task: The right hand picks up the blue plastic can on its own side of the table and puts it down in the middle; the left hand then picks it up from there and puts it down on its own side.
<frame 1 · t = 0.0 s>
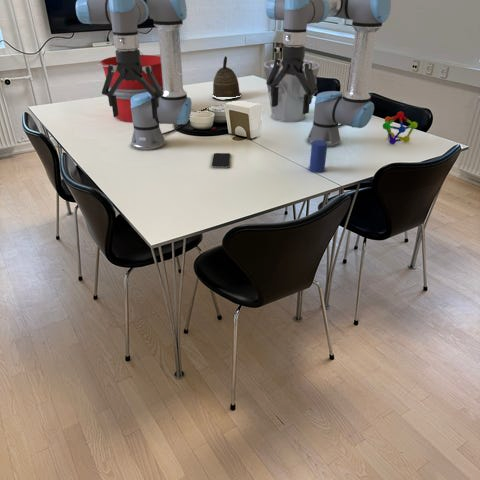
left hand: (135, 116, 150), 28 cm above the table, tool pointing down, fingers open, 13 cm apart
right hand: (289, 109, 158), 28 cm above the table, tool pointing down, fingers open, 13 cm apart
bucket 2: (139, 115, 247), on the table
bucket: (288, 117, 246), on the table
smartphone: (221, 161, 190), on the table
bell: (226, 97, 281), on the table
can: (316, 169, 183), on the table
educational toy: (395, 143, 211), on the table
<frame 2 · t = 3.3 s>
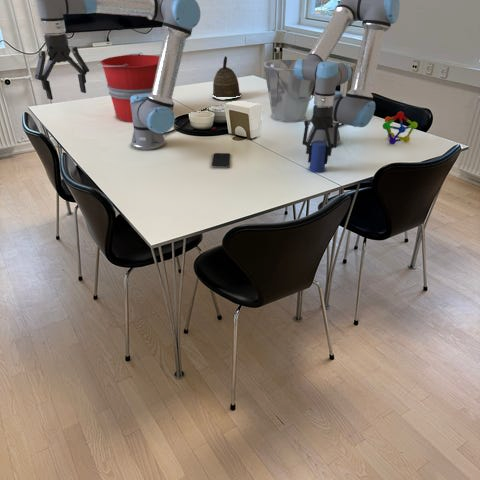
left hand: (67, 95, 166), 30 cm above the table, tool pointing down, fingers open, 13 cm apart
right hand: (317, 162, 181), 3 cm above the table, tool pointing down, fingers closed on can, 6 cm apart
can: (316, 169, 183), on the table, touching right hand
everything else where it was.
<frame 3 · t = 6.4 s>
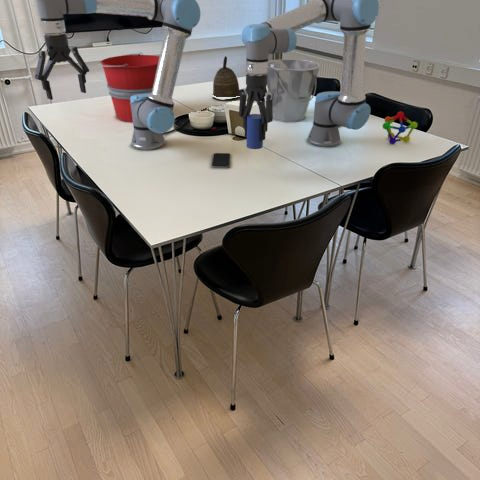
left hand: (67, 95, 166), 30 cm above the table, tool pointing down, fingers open, 13 cm apart
right hand: (254, 138, 166), 17 cm above the table, tool pointing down, fingers closed on can, 6 cm apart
can: (254, 146, 168), point 13 cm above the table, touching right hand
everything else where it was.
when the right hand's fingers open (4 cm above the table, at t = 9.6 s): can stays where it is, on the table.
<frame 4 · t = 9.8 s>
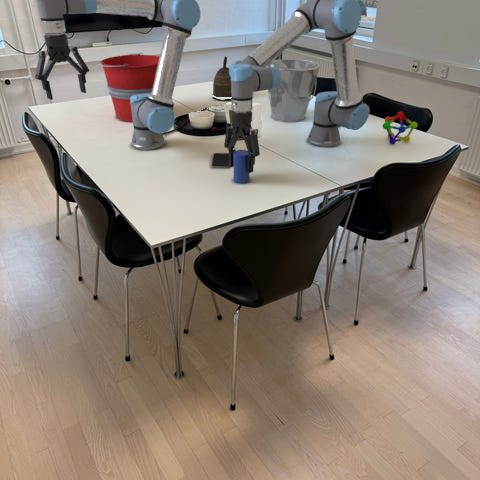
left hand: (67, 95, 166), 30 cm above the table, tool pointing down, fingers open, 13 cm apart
right hand: (241, 169, 171), 5 cm above the table, tool pointing down, fingers open, 8 cm apart
can: (241, 180, 174), on the table
everything else where it was.
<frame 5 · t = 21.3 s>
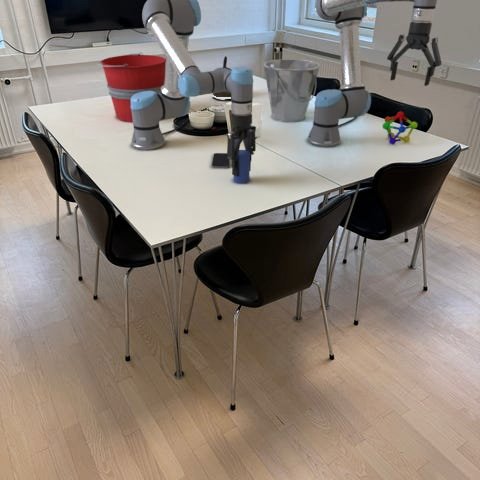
left hand: (241, 172, 172), 3 cm above the table, tool pointing down, fingers closed on can, 6 cm apart
right hand: (409, 82, 171), 33 cm above the table, tool pointing down, fingers open, 13 cm apart
can: (241, 180, 174), on the table, touching left hand
everything else where it was.
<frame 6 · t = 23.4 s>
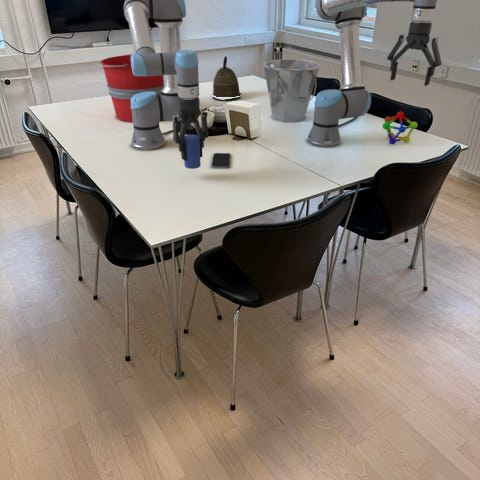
left hand: (192, 157, 171), 8 cm above the table, tool pointing down, fingers closed on can, 6 cm apart
right hand: (409, 82, 171), 33 cm above the table, tool pointing down, fingers open, 13 cm apart
can: (192, 165, 173), point 5 cm above the table, touching left hand
everything else where it was.
when the left hand's fingers open (4 cm above the table, at t = 25.4 s): can stays where it is, on the table.
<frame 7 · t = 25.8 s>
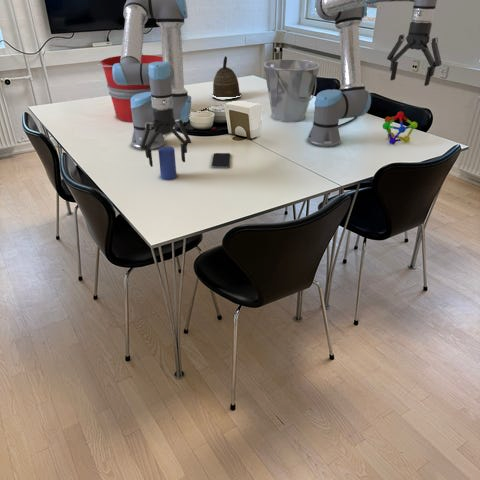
left hand: (167, 163, 173), 6 cm above the table, tool pointing down, fingers open, 12 cm apart
right hand: (409, 82, 171), 33 cm above the table, tool pointing down, fingers open, 13 cm apart
can: (168, 176, 176), on the table
everything else where it was.
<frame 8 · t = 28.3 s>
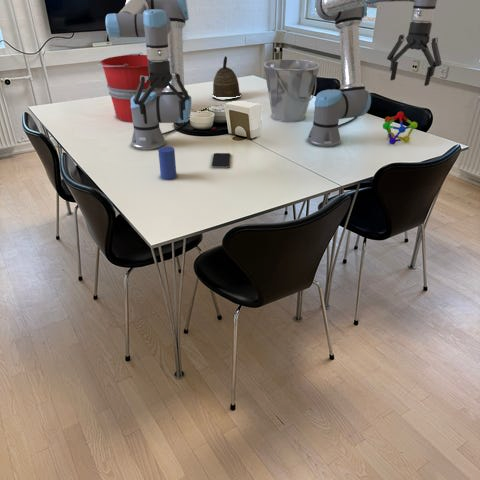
left hand: (163, 120, 164), 22 cm above the table, tool pointing down, fingers open, 13 cm apart
right hand: (409, 82, 171), 33 cm above the table, tool pointing down, fingers open, 13 cm apart
nothing on the table moved.
at the end: can inside the target area (0.1 cm from its centre), on the table; can tilted 0°; the two hands never held the can at the same time; the left hand is holding nothing; the right hand is holding nothing; can at rest at the end (0.0 cm/s) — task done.
